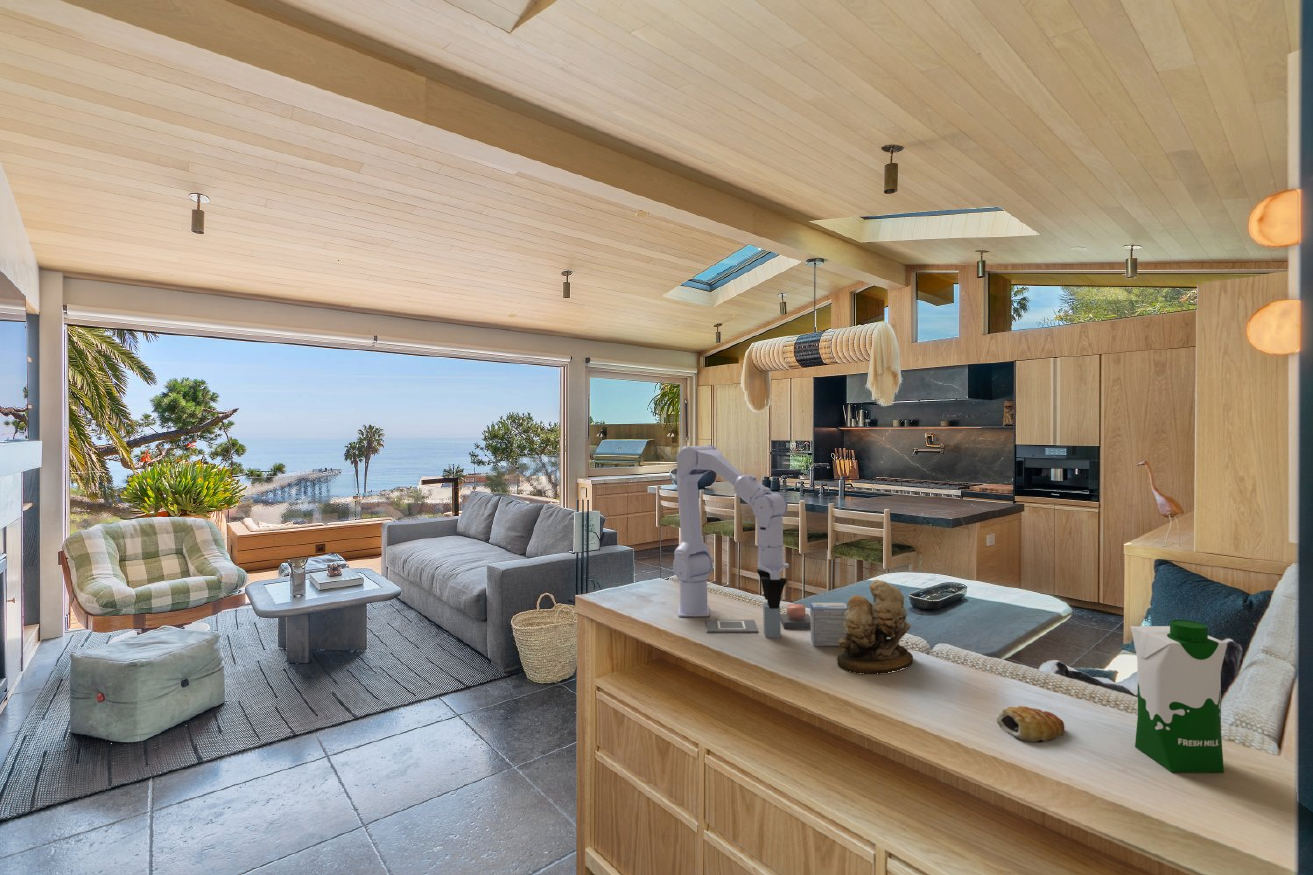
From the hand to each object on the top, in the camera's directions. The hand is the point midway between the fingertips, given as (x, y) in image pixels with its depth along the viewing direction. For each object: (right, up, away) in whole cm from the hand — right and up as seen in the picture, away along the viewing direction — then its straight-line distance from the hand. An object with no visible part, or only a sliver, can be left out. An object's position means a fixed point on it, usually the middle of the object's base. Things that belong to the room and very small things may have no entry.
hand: (771, 603), depth 147 cm
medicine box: (+12, -7, -7) cm, 15 cm away
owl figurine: (+18, -8, -18) cm, 26 cm away
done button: (+7, -5, +8) cm, 12 cm away
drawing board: (-9, -7, +7) cm, 13 cm away
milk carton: (+47, -7, -57) cm, 75 cm away
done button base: (+7, -7, +8) cm, 13 cm away
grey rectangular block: (0, -7, 0) cm, 7 cm away
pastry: (+32, -8, -48) cm, 58 cm away
